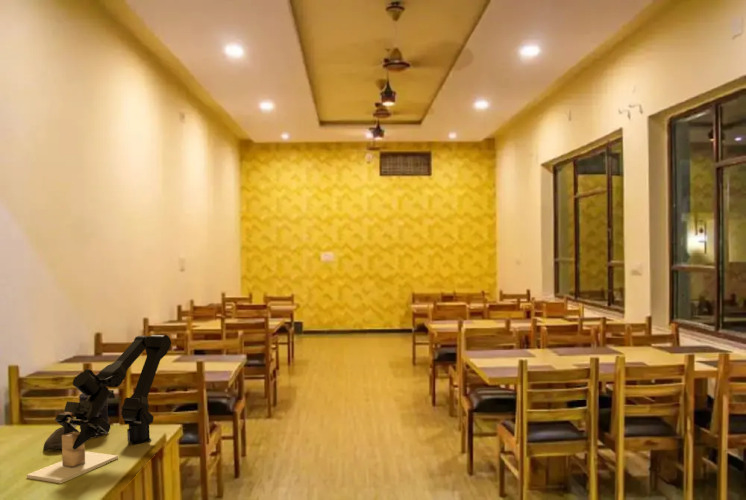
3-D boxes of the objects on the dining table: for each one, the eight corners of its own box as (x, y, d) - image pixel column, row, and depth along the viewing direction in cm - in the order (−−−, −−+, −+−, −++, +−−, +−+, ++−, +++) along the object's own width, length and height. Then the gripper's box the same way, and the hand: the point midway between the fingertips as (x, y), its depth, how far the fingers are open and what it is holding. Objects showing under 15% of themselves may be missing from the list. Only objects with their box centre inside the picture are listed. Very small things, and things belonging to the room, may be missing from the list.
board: (86, 454, 206) (86, 451, 206) (118, 458, 201) (118, 455, 201) (26, 477, 186) (26, 474, 186) (60, 483, 180) (60, 479, 180)
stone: (50, 464, 208) (72, 443, 209) (34, 446, 209) (55, 425, 210) (65, 459, 218) (86, 438, 219) (49, 441, 219) (70, 421, 220)
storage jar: (114, 432, 231) (112, 392, 230) (88, 439, 223) (87, 398, 223) (100, 428, 237) (99, 389, 237) (75, 435, 229) (73, 394, 229)
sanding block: (74, 461, 196) (73, 431, 196) (85, 462, 194) (84, 432, 194) (62, 465, 192) (61, 435, 192) (73, 467, 190) (72, 436, 190)
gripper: (58, 388, 200) (29, 432, 190) (101, 392, 192) (74, 438, 182) (79, 406, 207) (52, 449, 197) (122, 410, 200) (96, 455, 190)
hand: (67, 447), depth 191 cm, fingers closed on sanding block, 4 cm apart
